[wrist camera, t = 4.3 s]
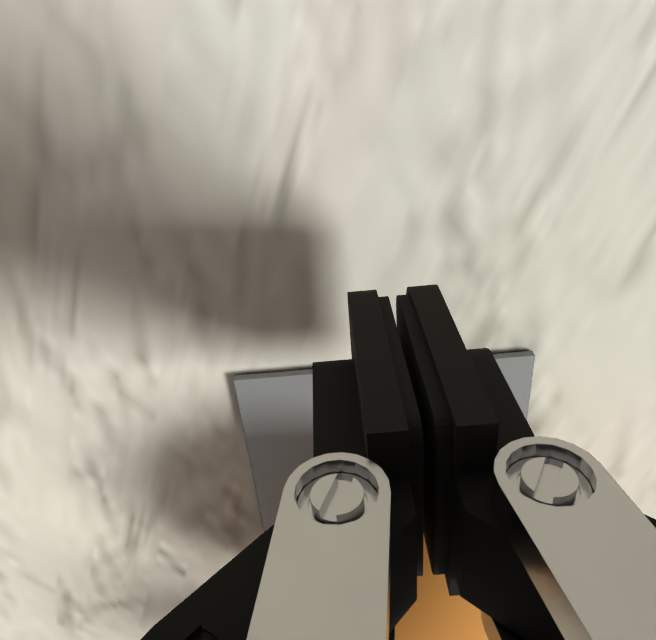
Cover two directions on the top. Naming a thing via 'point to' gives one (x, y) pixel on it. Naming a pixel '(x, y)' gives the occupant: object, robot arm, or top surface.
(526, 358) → the grey flat plate
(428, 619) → the ball
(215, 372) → the top surface
